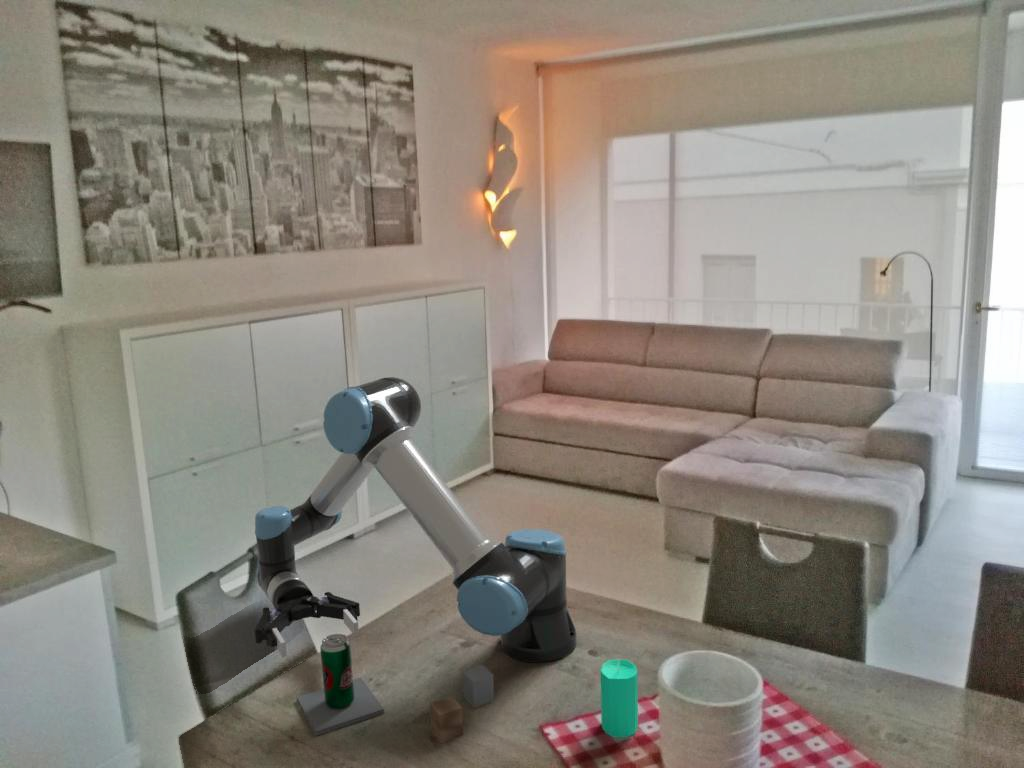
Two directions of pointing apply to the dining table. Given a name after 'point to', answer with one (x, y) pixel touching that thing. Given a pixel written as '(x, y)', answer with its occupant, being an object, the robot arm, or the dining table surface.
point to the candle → (619, 698)
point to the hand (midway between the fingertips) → (321, 639)
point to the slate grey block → (478, 686)
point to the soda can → (337, 671)
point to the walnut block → (446, 719)
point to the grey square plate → (332, 719)
